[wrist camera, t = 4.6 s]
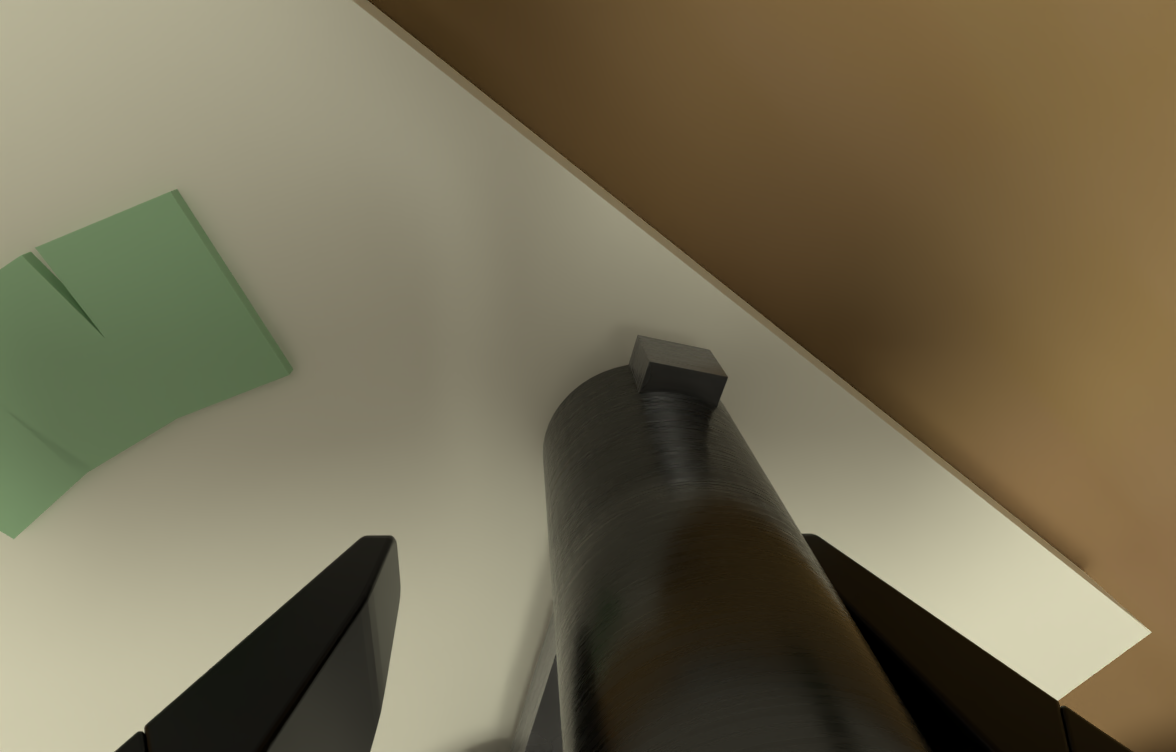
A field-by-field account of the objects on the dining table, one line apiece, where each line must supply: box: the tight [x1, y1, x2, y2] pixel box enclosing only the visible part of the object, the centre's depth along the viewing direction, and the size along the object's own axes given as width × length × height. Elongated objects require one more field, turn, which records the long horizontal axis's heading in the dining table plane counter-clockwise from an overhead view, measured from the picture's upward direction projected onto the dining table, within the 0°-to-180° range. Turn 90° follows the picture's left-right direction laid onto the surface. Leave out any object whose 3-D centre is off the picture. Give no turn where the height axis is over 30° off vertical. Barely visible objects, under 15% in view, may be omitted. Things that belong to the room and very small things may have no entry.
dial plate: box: [0, 0, 1151, 752], centre depth 15 cm, size 22×25×2 cm
